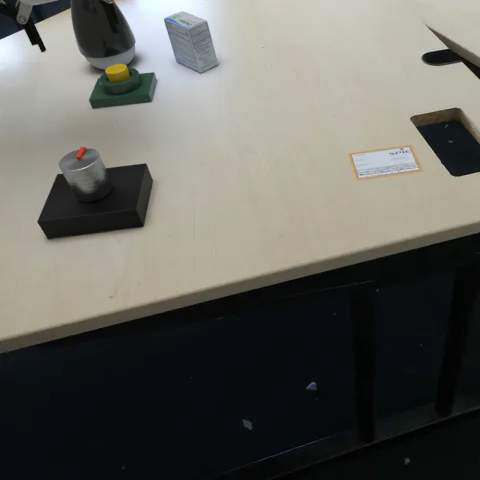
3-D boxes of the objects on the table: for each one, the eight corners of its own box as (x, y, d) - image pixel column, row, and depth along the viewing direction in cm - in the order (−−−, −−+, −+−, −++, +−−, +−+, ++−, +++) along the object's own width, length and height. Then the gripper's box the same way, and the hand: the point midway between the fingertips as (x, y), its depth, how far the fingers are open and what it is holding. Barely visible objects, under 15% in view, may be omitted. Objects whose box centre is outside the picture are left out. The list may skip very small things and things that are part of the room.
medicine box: (219, 65, 101) (208, 19, 95) (200, 74, 99) (187, 28, 93) (194, 54, 105) (182, 9, 99) (175, 62, 103) (162, 17, 97)
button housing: (92, 109, 91) (84, 90, 89) (101, 86, 97) (93, 68, 95) (151, 102, 92) (145, 83, 90) (157, 80, 98) (151, 62, 95)
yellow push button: (107, 84, 91) (103, 74, 90) (110, 74, 94) (107, 65, 92) (128, 81, 91) (125, 72, 90) (131, 72, 94) (128, 62, 93)
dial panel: (47, 239, 68) (36, 221, 66) (66, 190, 75) (57, 173, 73) (143, 226, 69) (135, 209, 67) (153, 180, 76) (146, 163, 74)
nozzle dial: (109, 200, 68) (92, 166, 64) (70, 204, 68) (52, 170, 64) (117, 177, 72) (102, 144, 68) (80, 181, 71) (63, 148, 68)
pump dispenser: (121, 79, 99) (88, -6, 88) (76, 72, 101) (39, -11, 91) (153, 55, 106) (126, -26, 95) (110, 49, 108) (79, -30, 98)
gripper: (87, -119, 68) (132, 15, 80) (-65, -96, 62) (8, 46, 74) (101, -110, 64) (147, 32, 75) (-62, -84, 57) (16, 66, 69)
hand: (78, 39), depth 75 cm, fingers open, 9 cm apart
